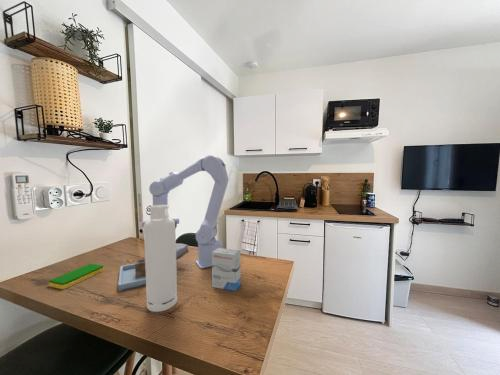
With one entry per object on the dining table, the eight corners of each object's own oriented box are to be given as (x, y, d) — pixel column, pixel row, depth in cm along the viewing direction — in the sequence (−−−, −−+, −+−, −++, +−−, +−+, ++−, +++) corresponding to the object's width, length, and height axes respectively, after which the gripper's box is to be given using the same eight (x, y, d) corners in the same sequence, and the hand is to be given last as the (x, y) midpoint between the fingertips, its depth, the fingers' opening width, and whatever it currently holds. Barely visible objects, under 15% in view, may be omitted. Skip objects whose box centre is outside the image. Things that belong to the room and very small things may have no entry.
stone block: (157, 262, 92) (177, 259, 90) (155, 251, 92) (175, 248, 90) (172, 253, 104) (190, 250, 102) (170, 243, 104) (188, 241, 102)
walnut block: (147, 270, 78) (147, 257, 78) (148, 275, 75) (147, 261, 75) (135, 273, 76) (135, 259, 76) (135, 278, 73) (135, 263, 73)
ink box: (241, 284, 70) (241, 249, 69) (235, 291, 65) (235, 255, 64) (218, 280, 72) (218, 246, 72) (211, 287, 68) (210, 252, 67)
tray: (160, 263, 86) (160, 258, 86) (165, 280, 72) (165, 274, 72) (120, 271, 79) (120, 266, 79) (118, 291, 65) (118, 285, 65)
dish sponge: (104, 271, 80) (104, 265, 80) (63, 290, 67) (63, 283, 67) (91, 269, 82) (90, 263, 82) (48, 287, 69) (48, 280, 69)
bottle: (153, 295, 63) (150, 204, 62) (180, 293, 64) (178, 203, 62) (141, 312, 55) (137, 208, 54) (172, 310, 56) (169, 208, 54)
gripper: (140, 212, 81) (141, 247, 82) (179, 210, 86) (180, 242, 87) (141, 210, 87) (143, 241, 88) (178, 207, 93) (179, 237, 94)
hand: (161, 241), depth 88 cm, fingers open, 7 cm apart
